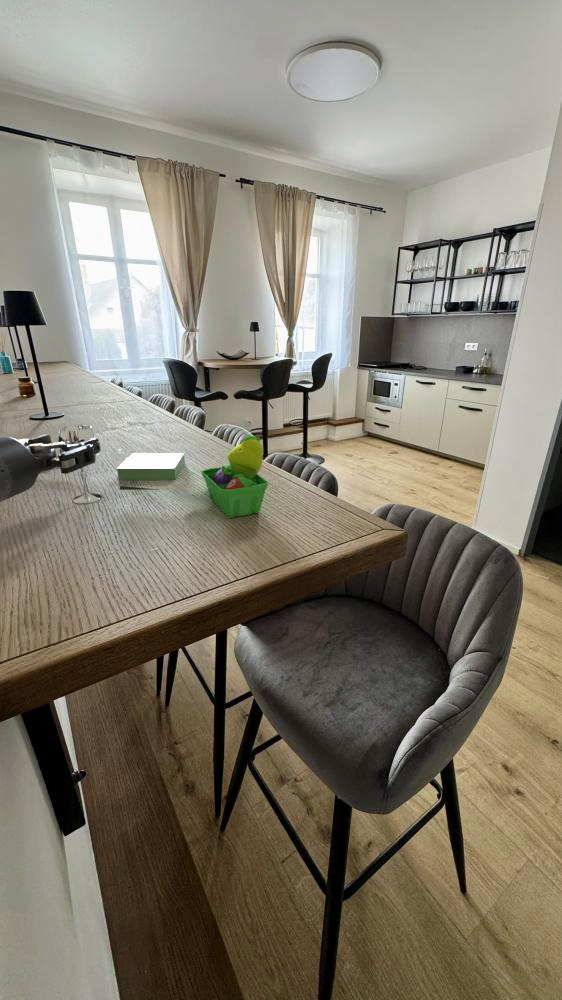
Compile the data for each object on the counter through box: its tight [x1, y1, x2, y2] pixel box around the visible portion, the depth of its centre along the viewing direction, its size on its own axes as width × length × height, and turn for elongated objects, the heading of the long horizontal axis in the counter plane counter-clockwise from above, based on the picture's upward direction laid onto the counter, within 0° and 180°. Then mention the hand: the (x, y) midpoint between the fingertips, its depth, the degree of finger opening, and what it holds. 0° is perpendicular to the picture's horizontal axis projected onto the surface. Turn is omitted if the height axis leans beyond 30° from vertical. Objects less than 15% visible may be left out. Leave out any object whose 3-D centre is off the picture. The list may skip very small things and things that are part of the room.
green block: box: [116, 452, 186, 491], centre depth 77 cm, size 10×10×4 cm
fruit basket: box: [200, 435, 269, 519], centre depth 65 cm, size 11×9×11 cm
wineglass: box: [57, 424, 103, 505], centre depth 67 cm, size 6×6×12 cm
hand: (73, 442), depth 64 cm, fingers open, 8 cm apart
